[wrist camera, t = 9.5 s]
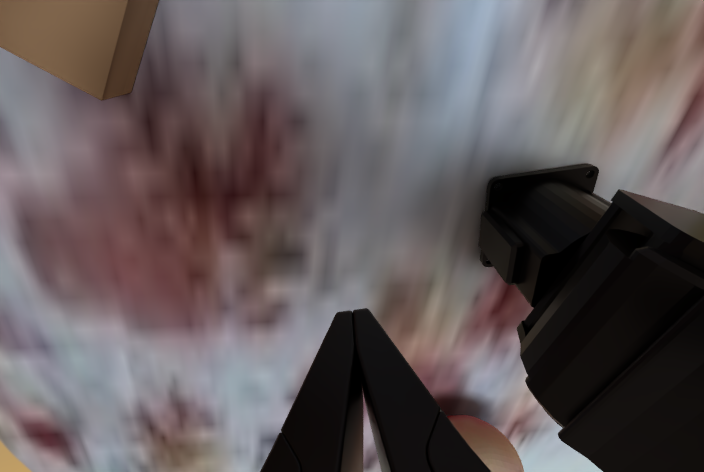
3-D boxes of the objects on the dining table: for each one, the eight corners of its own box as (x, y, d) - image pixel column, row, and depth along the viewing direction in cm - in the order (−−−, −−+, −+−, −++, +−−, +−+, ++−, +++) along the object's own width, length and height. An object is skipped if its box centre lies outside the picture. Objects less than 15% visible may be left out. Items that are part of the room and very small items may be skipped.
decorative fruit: (454, 375, 30) (505, 511, 21) (507, 405, 33) (571, 534, 24) (384, 424, 33) (404, 558, 25) (439, 447, 36) (474, 573, 28)
